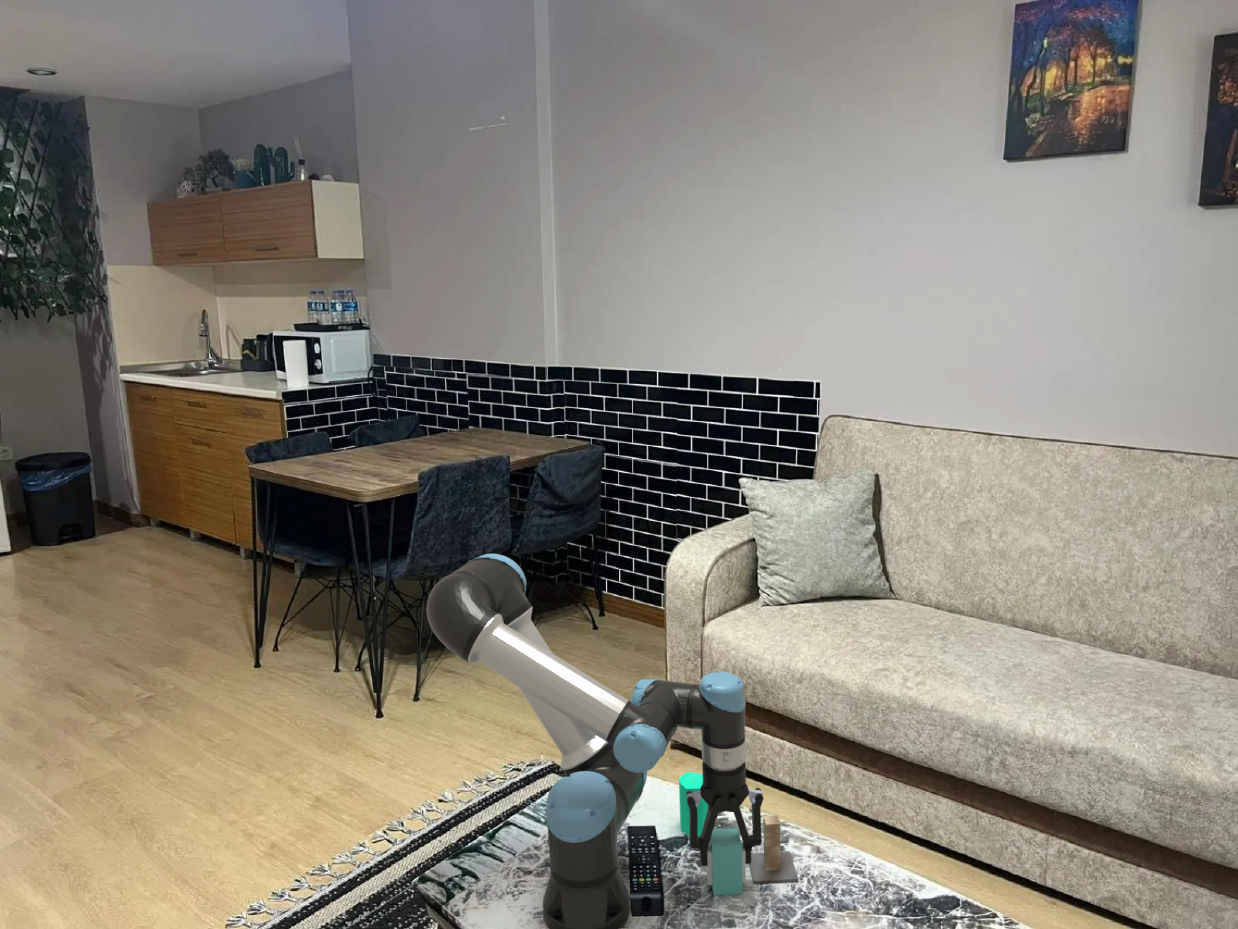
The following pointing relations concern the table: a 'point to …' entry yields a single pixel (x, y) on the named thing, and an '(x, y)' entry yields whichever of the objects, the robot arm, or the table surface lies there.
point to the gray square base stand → (772, 857)
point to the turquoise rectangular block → (726, 862)
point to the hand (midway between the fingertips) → (726, 879)
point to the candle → (693, 784)
